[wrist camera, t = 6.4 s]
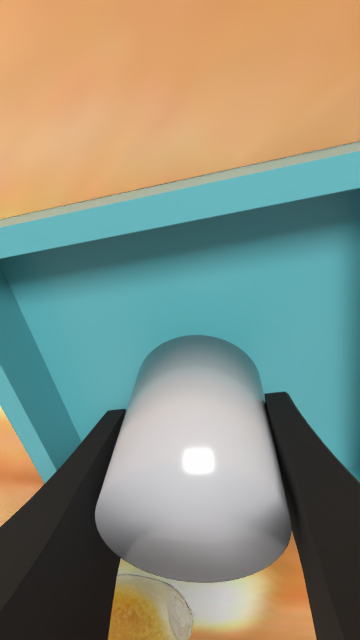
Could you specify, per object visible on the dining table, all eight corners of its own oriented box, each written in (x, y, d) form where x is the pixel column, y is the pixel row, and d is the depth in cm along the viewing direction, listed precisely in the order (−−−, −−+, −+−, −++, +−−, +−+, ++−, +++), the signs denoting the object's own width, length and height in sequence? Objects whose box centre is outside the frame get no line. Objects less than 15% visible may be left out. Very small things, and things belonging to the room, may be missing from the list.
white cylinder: (261, 432, 13) (288, 585, 8) (147, 435, 13) (116, 580, 9) (261, 330, 11) (295, 460, 6) (126, 338, 11) (72, 463, 7)
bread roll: (43, 578, 24) (13, 655, 20) (159, 559, 21) (149, 642, 18) (101, 634, 27) (85, 709, 23) (208, 623, 25) (207, 704, 21)
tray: (376, 468, 16) (405, 526, 13) (94, 488, 18) (76, 540, 16) (399, 132, 10) (460, 129, 7) (-31, 226, 12) (-90, 246, 10)
